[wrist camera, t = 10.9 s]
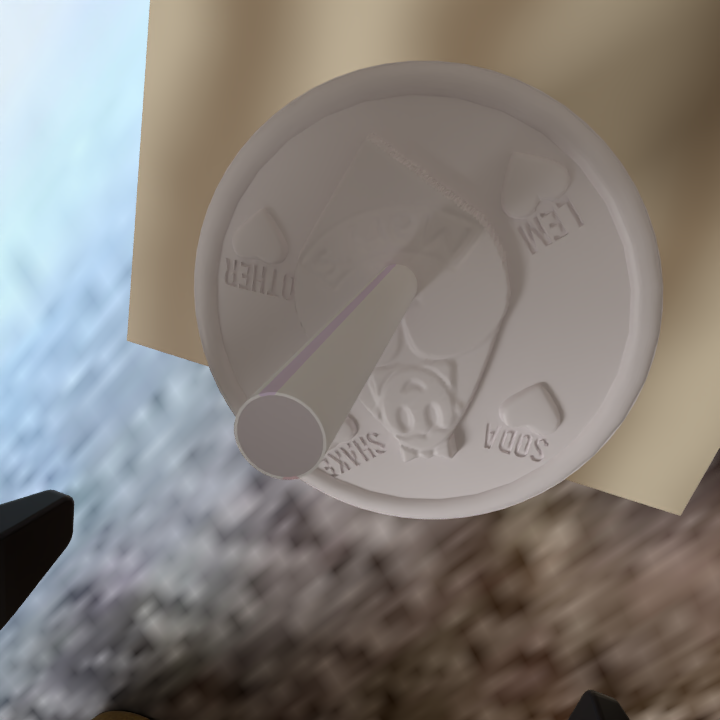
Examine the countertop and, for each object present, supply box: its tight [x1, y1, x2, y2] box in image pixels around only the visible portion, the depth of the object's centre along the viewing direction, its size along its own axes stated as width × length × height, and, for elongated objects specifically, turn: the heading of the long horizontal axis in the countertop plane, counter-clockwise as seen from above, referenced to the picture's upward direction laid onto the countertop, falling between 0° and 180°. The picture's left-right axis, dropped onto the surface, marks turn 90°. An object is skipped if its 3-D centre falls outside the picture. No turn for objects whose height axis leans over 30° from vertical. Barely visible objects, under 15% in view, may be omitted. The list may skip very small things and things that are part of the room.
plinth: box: [127, 0, 720, 515], centre depth 17 cm, size 20×14×3 cm
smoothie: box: [194, 61, 663, 519], centre depth 10 cm, size 6×6×14 cm
